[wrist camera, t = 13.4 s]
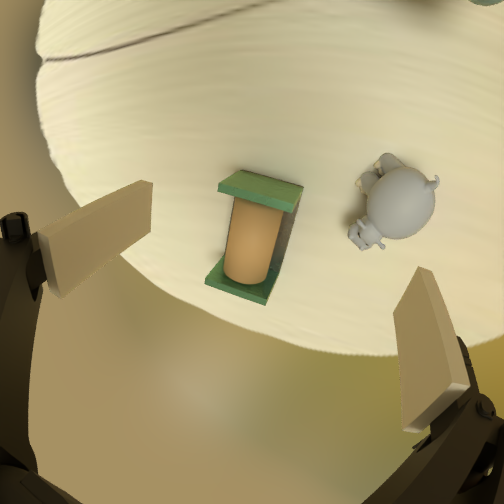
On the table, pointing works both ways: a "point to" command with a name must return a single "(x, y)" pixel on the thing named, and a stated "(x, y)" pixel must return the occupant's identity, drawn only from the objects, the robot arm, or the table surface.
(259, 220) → the cylinder
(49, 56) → the table surface
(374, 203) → the hippopotamus toy
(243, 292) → the holder
